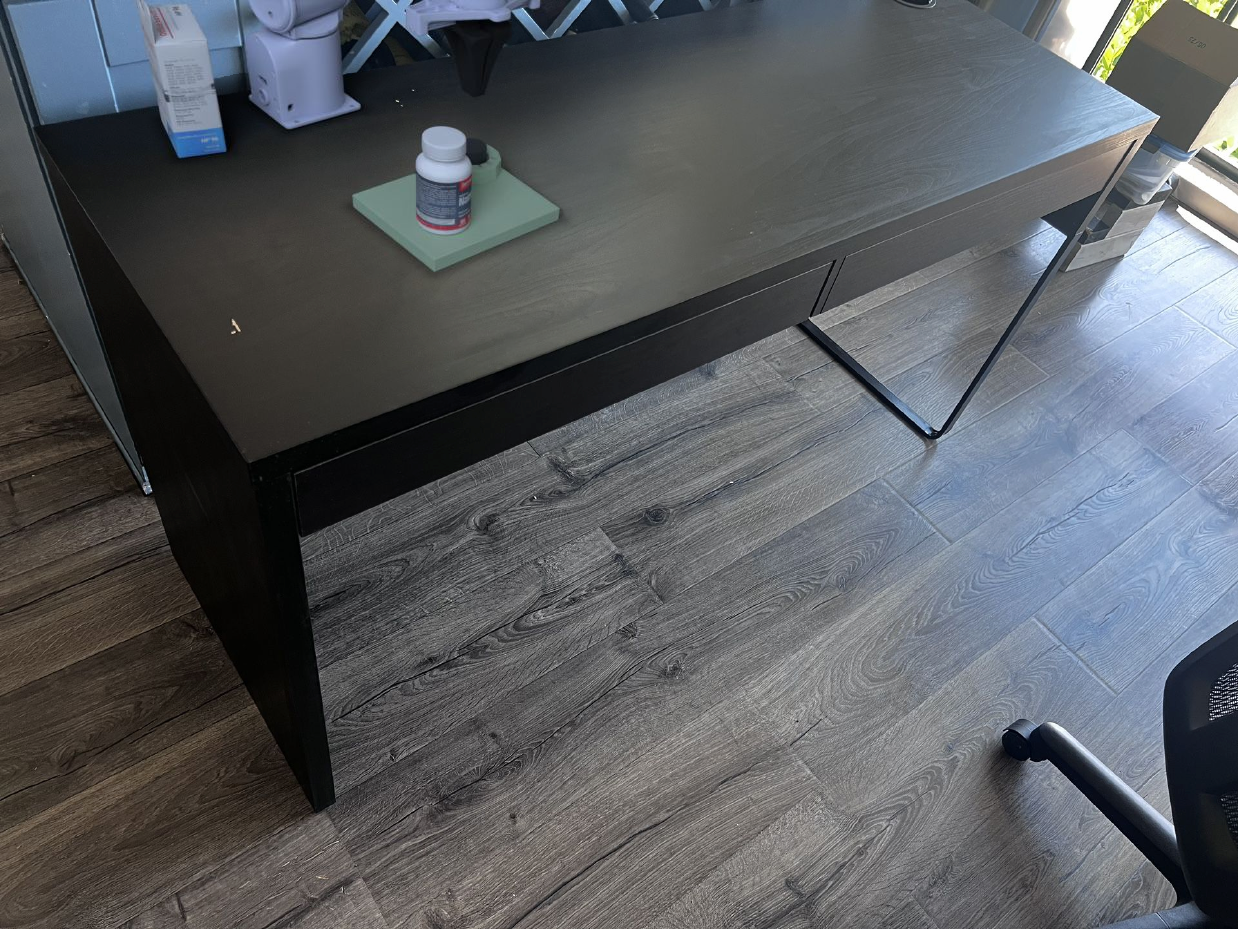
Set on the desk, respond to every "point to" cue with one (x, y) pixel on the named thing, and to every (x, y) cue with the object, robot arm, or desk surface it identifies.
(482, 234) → the green flat slab
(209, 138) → the ink box
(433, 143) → the pill bottle
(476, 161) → the button
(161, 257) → the desk surface
